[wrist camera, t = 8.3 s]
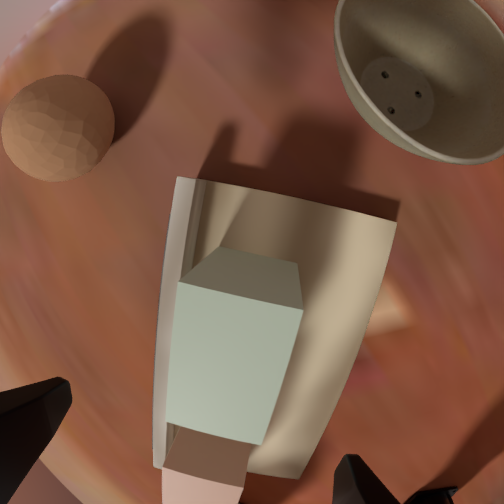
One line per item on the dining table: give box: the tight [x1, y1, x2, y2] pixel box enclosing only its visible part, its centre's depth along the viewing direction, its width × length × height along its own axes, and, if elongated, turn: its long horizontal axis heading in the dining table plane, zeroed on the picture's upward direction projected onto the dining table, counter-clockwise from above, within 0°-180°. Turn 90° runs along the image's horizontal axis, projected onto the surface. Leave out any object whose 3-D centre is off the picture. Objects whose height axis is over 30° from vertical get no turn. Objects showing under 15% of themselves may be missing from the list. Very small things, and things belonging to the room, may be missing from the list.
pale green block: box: [165, 246, 304, 445], centre depth 15 cm, size 5×7×7 cm
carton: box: [162, 426, 251, 504], centre depth 17 cm, size 5×7×7 cm
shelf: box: [152, 176, 397, 479], centre depth 19 cm, size 12×22×3 cm, turn 169°
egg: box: [1, 75, 115, 182], centre depth 14 cm, size 6×6×8 cm
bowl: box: [334, 0, 504, 165], centre depth 12 cm, size 10×10×7 cm
